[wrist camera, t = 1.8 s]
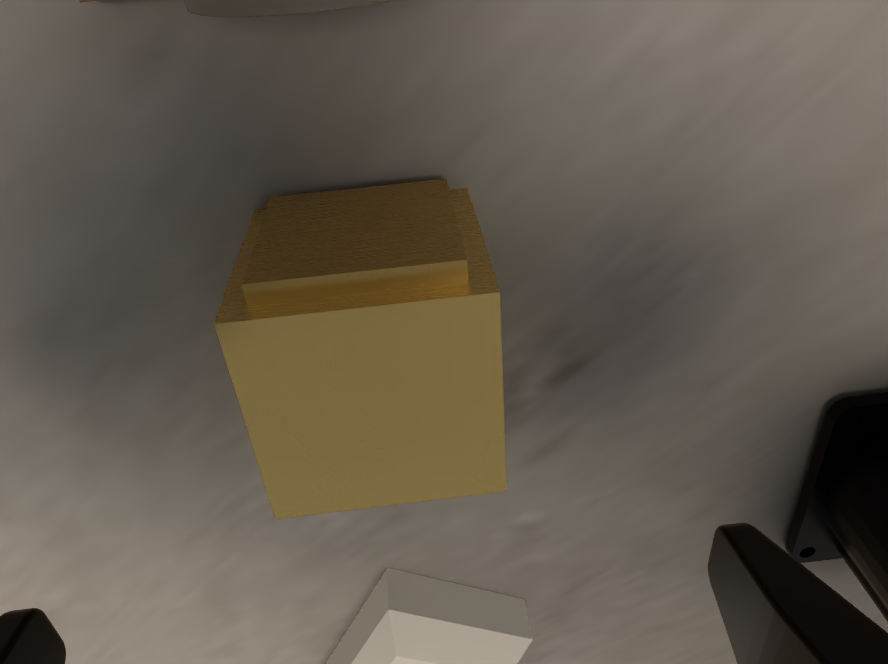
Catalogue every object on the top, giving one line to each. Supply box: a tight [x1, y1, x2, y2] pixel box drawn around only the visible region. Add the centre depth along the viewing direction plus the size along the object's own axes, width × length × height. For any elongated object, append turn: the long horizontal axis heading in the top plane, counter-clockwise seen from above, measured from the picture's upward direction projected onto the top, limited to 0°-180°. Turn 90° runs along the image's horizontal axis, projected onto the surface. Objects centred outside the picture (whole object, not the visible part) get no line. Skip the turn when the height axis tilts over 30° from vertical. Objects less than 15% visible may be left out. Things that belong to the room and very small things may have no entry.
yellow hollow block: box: [214, 179, 507, 519], centre depth 14 cm, size 5×4×4 cm
